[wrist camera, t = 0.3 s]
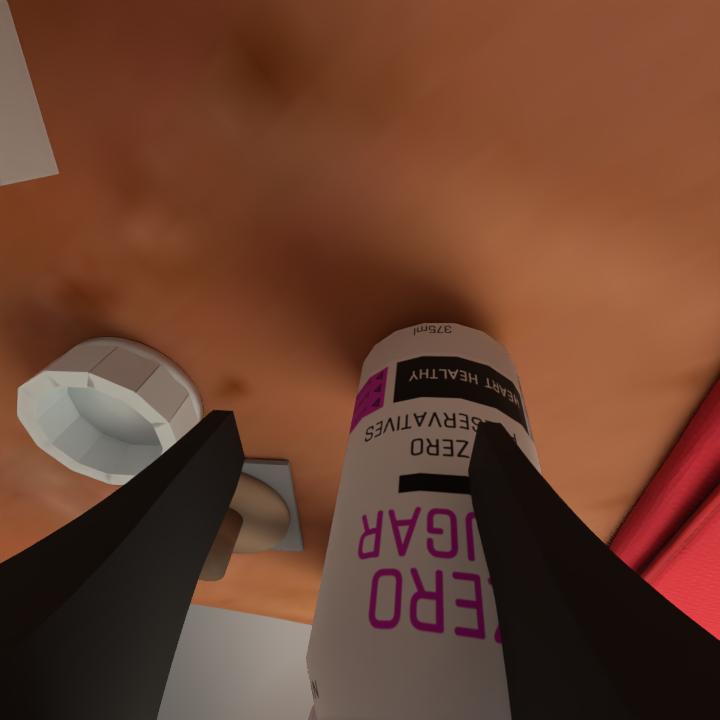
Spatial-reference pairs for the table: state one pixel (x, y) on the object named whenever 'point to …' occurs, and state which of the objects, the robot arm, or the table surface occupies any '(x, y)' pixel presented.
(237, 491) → the lid
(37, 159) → the pizza boxes
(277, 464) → the mat
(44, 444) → the bowl
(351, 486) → the supplement can
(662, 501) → the dish drying mat
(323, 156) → the table surface
